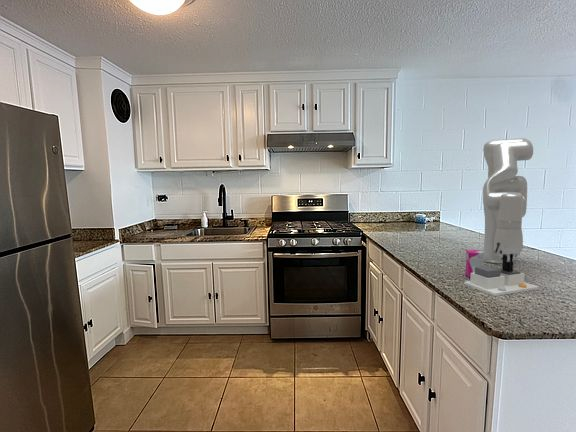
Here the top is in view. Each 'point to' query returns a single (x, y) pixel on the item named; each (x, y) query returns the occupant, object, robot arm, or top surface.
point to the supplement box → (473, 261)
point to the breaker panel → (500, 284)
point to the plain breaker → (487, 271)
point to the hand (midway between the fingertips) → (507, 270)
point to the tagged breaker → (509, 272)
